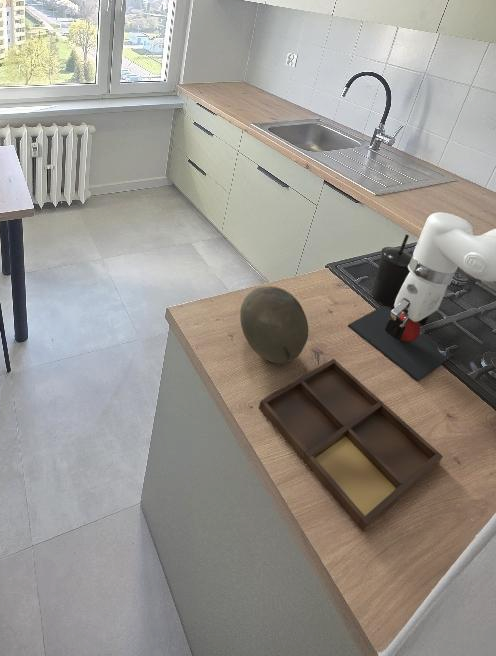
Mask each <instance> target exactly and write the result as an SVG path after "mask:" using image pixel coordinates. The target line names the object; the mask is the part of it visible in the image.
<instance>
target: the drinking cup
mask: <svg viewBox="0 0 496 656" xmlns="http://www.w3.org/2000/svg"><path fill="white" fill-rule="evenodd" d="M409 237H410V235H409V234H405V235H404V238H403V241H402V243H401V246H400V248H398V247H393V246H385V247H383V248H381V250H380V258H379V263H378V267H377V271H376V276H375V279H374V283H373V287H372V292H371V297H372V298H373V299H374V300H375V301H376V302H378V304H379V303H380V304H382V305H384V306H385V305H386V306H391V305H393V304H394V303H395V301H396V298H397V296H398V293H399V291H400V289H401V287H402V285H403V283H404V281H405V279H406V278H407V276H408V274H409V272H410V271H409V269H408V265H409V262H410V260H411V257H412V255H413V254H411V253H409V252H408V251H406V250H405V247H406V245H407V242H408V240H409Z"/></svg>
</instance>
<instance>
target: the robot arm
mask: <svg viewBox="0 0 496 656" xmlns="http://www.w3.org/2000/svg"><path fill="white" fill-rule="evenodd" d="M411 255H412V257H411V260H410V262H409V265H408V269H409V271H410V272H409V274H408V276H407V278H406V279H405V281H404V283H403V285H402V287H401V289H400V291H399V293H398V295H397V297H396V298H395V300H394V303H393V307H394V308H393V309H392V310H391V314H390V317H389V321H388V323H387V326H386V328H385V331H386V332H387V333H388V334H390V335H391V336H392V337H394V338H395V339H396V340H398V341H399V340H401V338H402V335H403V333H404V331H405V329H406V327H405V324H406V323H407V322H408V321H409V319H411V320H412V321H414V322H417V321H418V323H419V325H420V326H425V325H426V324H427V322H428V319H429V317H430V315H432V314H434V313H435V312H436V311H438V310H439V308H440V306H441V304H442V301H443V300H444V299H443V298H444V296H445V294H446V291H447V287H448V286H449V285H450V284H451V282H452V281H453V278H454V276H455V274H456V272H457V270H458V268H460V269H461V270H462V271H463V272H464V273H466V274H467V275H469V276H470V277H473V278H474V279H476V280H479V281H482V282H488V283H494V282H496V228H493V229H491V230H489V231H486V232H484V233H483V234H480V235H474V227H473V226H472V225H471V223H469V222H468V221H467V220H466V219H464V218H463V217H460V216H458V215H456V214H452V213H449V212H448V213H447V212H441V211H440V212H439V211H438V212H434V213H431V214H430V215H429V216H428V217H427V219H426V221H425V223H424V225H423V228H422V230H421V233H420V236H419V238H418V240H417V242H416V245H415V248H414V250H413V252H412V254H411ZM406 311H407V312H406ZM401 313H402V314H403V315H405V316H406V317H405V318H404V319H403V321H402V320H401V319H400V318H399V317H400V315H401ZM407 313H408V314H407Z"/></svg>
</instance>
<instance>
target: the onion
mask: <svg viewBox="0 0 496 656" xmlns="http://www.w3.org/2000/svg"><path fill="white" fill-rule="evenodd" d="M406 313H407V314H408V312H406ZM405 317H406V316H405V315H403V314H402V313H401V315H400V317H399V318H400V319H401V320H402V321H403V319H404V318H405ZM405 327H406V329H405V331H404V333H403V335H402V338H401V340H400V341H408V342H409V341H414V340H416V339H417V338H418V336H419V335H420V331H421V324H420V323H418V321H417V322H414V321H412V320H411V319H409V321H408V322H407V323H406V324H405Z"/></svg>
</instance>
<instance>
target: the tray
mask: <svg viewBox="0 0 496 656" xmlns="http://www.w3.org/2000/svg"><path fill="white" fill-rule="evenodd" d="M258 409H259V411H261V412H262V414H263V415H265V417H266V418H267V420H268V421H269V422H270V423H271V424H272V425H273V427H274V428H275V429H276V431H278V433H279V435H281V436H282V437H283V439H284V440H286V442H287V443H288V445H289V446H290V447H291V448H292V449H293V451H294V452H295V453H296V454H297V455H298V456H299V457H300V459H301V460H302V461H303V462H304V463H305V465H306V467H308V468H309V469H310V471H311V472H312V473H313V474H314V476H315V477H316V478H317V479H318V480H319V482H320V483H321V484H322V485H323V486H324V487H325V489H326V490H327V491H328V492H329V494H331V496H332V497H333V498H334V499H335V501H336V502H337V504H339V505H340V507H341V508H342V509H343V510H344V511H345V512H346V514H347V515H348V516H349V517H350V519H351V520H352V521H353V522H354V524H356V526H357V527H358V528H359V530H360V531H361V532H364V531H366V530H367V529H368V528H369V527H370V526H371V525H372V524H373V523H375V522H376V521H377V520H378V519H379V518H380V517H381V516H382V515H384V513H386V512H387V511H388V510H389V509H390V508H391V507H392V506H393V505H395V503H397V502H398V501H399V500H400V499H401V498H403V497H404V495H406V494H407V493H408V492H409V491H410V490H411V489H412V488H413V487H415V486H416V485H417V484H418V483H419V482H421V480H422V479H424V477H426V476H427V475H428V474H429V473H430V472H431V471H433V470H434V469H435V468H436V467H437V466H438V465H439V464H440V462H441V461H442V460H443V457H444V456H443V455H442V454H441V453H440V452H439V451H438V450H437V449H435V447H433V445H431V443H429V442H428V441H426V440H425V439H424V437H422V436H421V435H420V434H419V433H417V432H416V430H414V428H413V427H411V426H410V425H409V424H408V423H406V422H405V421H404V420H403V418H401V417H400V416H398V414H396V413H395V412H394V411H393V410H392V409H391V408H389V407H388V406H387V405H386V404H385V403H384V402H383V401H382V400H380V399H379V398H378V397H377V396H376V395H375V394H374V393H373V392H372V391H371V390H370V389H368V388H367V387H366V386H365V385H364V384H363V383H361V382H360V380H358V379H357V378H356V377H355V376H354V375H353V374H352V373H350V371H348V370H347V369H346V368H345V367H344V366H342V364H340V363H339V362H338V361H337V360H336V359H335V358H332V359H330V360H328V361H326V362H325V363H323V364H322V365H319V366H318V367H316V368H314V369H313V370H311V371H309V372H308V373H306V374H304V375H303V376H301V377H299V378H298V379H296V380H294V381H292V382H291V383H289V384H287V385H286V386H284V387H282V388H280V389H279V390H277V391H274V392H273V393H271V394H270V395H268V396H266V397H265V398H263V399H261V400H260V401H259V406H258Z"/></svg>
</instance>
